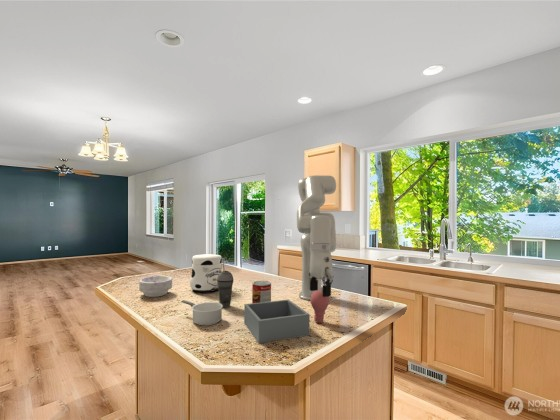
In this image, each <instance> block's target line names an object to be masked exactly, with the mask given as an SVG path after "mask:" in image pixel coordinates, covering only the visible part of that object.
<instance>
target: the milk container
mask: <svg viewBox="0 0 560 420" xmlns="http://www.w3.org/2000/svg"><path fill="white" fill-rule="evenodd" d="M222 270H223V259H222V255H220V254H216V253H215V254H209V253H206V254H195V255H193V256H192V259H191V274H190V278H189V286H190V288H191V290H192V291H195V292H199V293H205V292H206V293H207V292H209V293H210V292H214V291H219V290H218V283H217V278H218V275H219V274H220V273H221V272H222Z"/></svg>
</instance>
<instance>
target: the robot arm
mask: <svg viewBox="0 0 560 420" xmlns="http://www.w3.org/2000/svg"><path fill="white" fill-rule="evenodd" d="M297 189H298V194H299V198H300V201H301V203H300V205H299V206H298V207H297V210H296V228H297V231H298V232H299V233H301V234H302V236H301V237H300V248H301V258H302V260H301V263H302V264H301V292H299V293H298V298H300V299H302V300H306V301H310V298H311V295H312V294H313V293H314V292H315V291H317V290H321V291H323V297H329V298H330V297H331V296H332V285H333V282H334V281H333V280H334V276H335V275H334V273H333V258H332V253H334V252H335V251H336V249H337V237H336V235H337V234H336V232H337V231H336V219H335V216H334V215H333V214H332V213H330V212H321V209H320V208H321V207H323V206H324V204H325V203H326V195H332V194H334V193H335V192H336V190H337V181H336V179H335V177H334V176H332V175H319V174H318V175H310V176H308V177H303V178H301V179H299V180H298V184H297ZM322 283H323V285H322Z"/></svg>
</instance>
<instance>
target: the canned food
mask: <svg viewBox="0 0 560 420" xmlns="http://www.w3.org/2000/svg"><path fill="white" fill-rule="evenodd" d="M251 286H252V287H251V289H252V290H251V294H252V295H251V304H252V303H261V302H270V301H272V282H271V281H268V280H256V281H253V282H252V285H251Z"/></svg>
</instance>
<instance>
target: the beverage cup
mask: <svg viewBox="0 0 560 420" xmlns="http://www.w3.org/2000/svg"><path fill="white" fill-rule="evenodd" d="M225 269H226V268H225V262H224V260H222V270H223V271H222V272H221V273H220V274H219V275H218V278H217V283H218V290H217V291H218V303H220V304H222V305H223V307H222V309H227V308H230V307H231V301H232V292H233V284H234V280H235V279H234V276H233V273H231V271H229V270H225Z"/></svg>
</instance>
